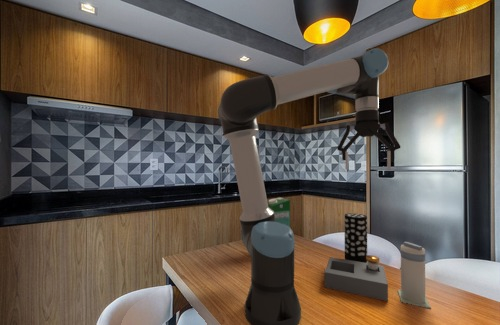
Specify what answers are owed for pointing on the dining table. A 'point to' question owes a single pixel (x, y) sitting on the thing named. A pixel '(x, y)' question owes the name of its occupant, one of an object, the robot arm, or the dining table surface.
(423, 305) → the mat
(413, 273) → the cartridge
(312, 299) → the dining table surface
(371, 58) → the robot arm
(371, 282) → the block
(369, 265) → the gold lidded jar
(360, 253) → the white-spotted black cylinder
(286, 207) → the milk carton
